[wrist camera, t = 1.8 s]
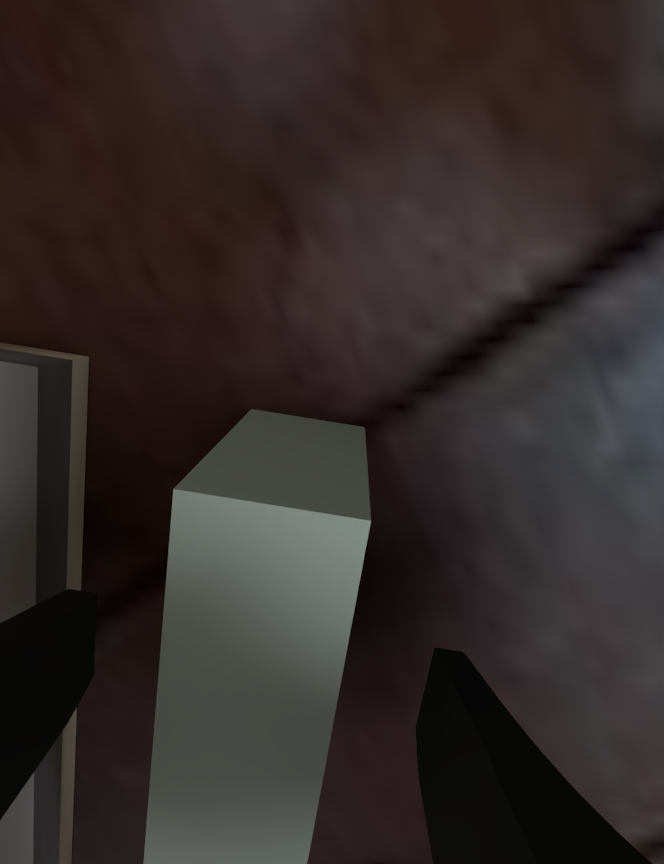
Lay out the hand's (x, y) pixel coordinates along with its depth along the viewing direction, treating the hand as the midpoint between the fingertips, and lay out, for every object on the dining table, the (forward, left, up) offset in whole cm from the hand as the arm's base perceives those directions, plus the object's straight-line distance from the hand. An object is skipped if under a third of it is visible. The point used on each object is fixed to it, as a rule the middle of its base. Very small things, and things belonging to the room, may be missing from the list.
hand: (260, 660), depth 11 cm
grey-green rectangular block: (0, 0, -4) cm, 4 cm away
